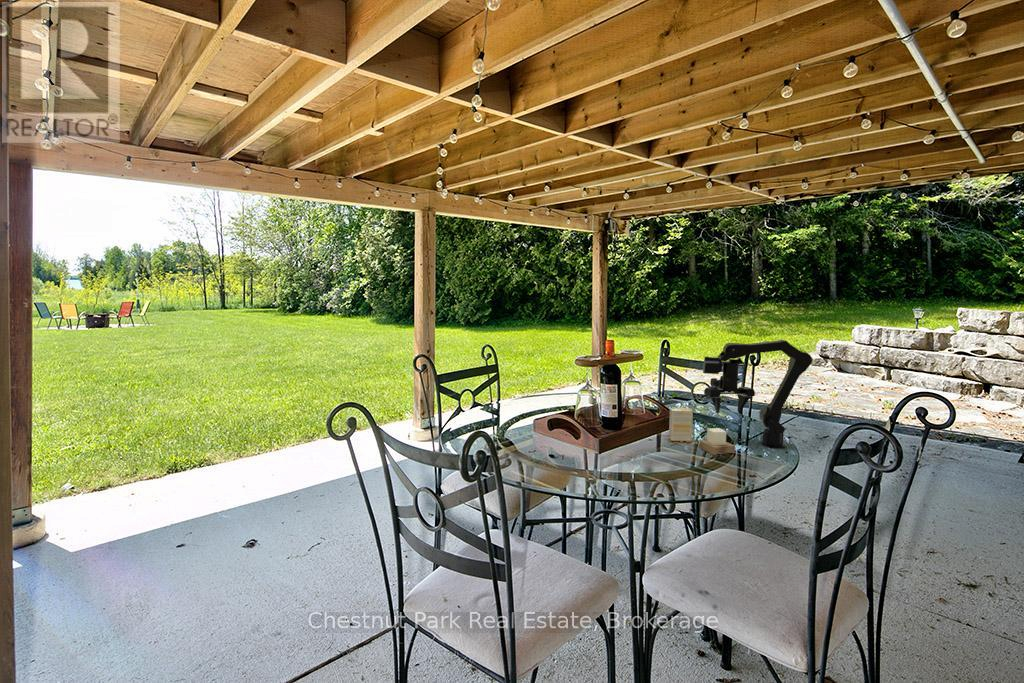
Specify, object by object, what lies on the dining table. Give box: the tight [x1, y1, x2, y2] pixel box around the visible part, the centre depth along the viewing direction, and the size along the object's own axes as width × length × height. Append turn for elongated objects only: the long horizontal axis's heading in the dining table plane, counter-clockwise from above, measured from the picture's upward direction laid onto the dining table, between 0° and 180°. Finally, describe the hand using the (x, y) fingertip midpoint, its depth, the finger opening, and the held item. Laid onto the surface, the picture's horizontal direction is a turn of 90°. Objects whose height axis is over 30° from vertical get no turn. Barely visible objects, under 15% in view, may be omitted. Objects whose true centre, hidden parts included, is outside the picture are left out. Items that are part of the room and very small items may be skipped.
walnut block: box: [698, 439, 736, 456], centre depth 195 cm, size 9×9×4 cm
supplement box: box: [668, 407, 694, 443], centre depth 207 cm, size 8×5×13 cm, turn 84°
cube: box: [706, 427, 727, 445], centre depth 194 cm, size 5×5×5 cm
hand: (728, 412), depth 205 cm, fingers open, 9 cm apart
